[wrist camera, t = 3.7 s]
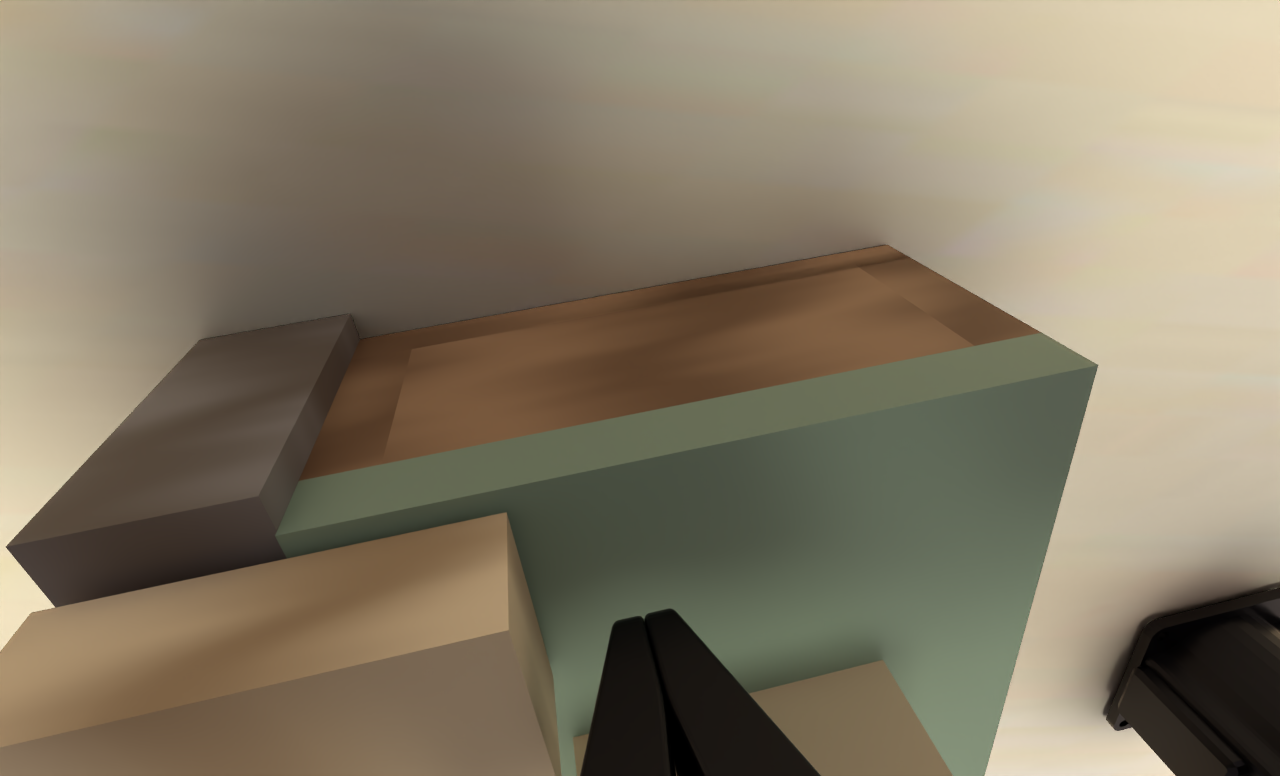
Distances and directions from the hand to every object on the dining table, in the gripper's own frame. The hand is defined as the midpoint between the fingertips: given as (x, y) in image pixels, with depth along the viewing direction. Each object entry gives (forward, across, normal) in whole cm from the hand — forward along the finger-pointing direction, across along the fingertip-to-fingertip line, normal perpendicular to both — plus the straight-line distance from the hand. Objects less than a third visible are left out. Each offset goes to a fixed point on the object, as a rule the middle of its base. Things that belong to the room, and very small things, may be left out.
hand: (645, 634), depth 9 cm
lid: (+2, -2, +5) cm, 6 cm away
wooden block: (+1, +5, 0) cm, 5 cm away
